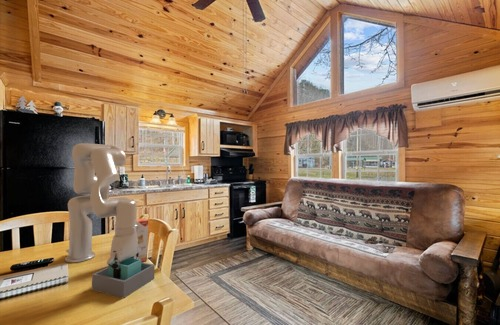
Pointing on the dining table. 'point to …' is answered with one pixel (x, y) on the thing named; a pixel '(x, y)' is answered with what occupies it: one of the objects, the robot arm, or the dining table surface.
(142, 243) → the cracker box
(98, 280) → the charcoal crate
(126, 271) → the teal crate
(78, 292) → the dining table surface
